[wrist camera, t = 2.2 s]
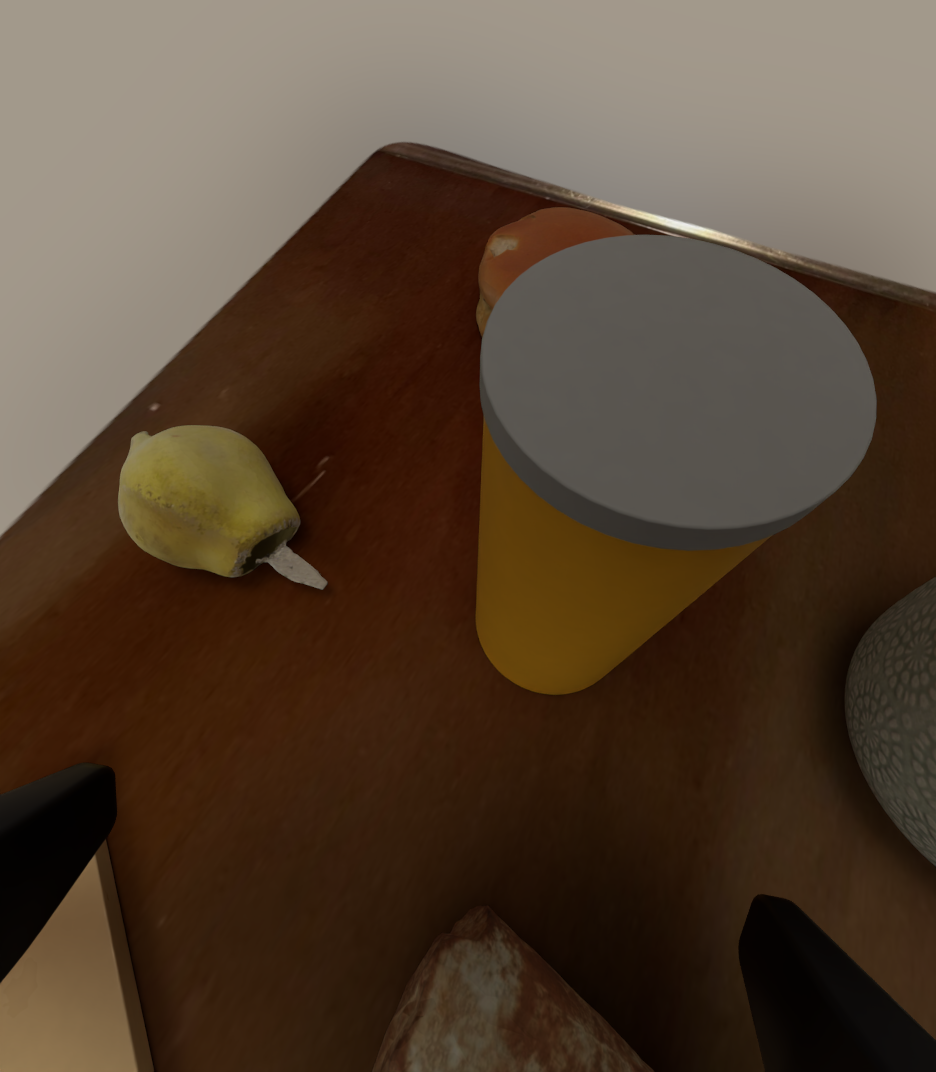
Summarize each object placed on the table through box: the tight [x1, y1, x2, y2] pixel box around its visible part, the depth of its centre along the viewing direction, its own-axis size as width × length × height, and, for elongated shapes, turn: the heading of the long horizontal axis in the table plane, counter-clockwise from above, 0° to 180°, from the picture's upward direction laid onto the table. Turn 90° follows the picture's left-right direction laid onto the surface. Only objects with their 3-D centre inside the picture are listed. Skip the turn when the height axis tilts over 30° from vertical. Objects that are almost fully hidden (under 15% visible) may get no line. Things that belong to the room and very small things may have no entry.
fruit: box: [118, 425, 328, 590], centre depth 22 cm, size 6×6×10 cm
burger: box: [476, 207, 634, 338], centre depth 28 cm, size 10×9×5 cm
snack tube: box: [476, 235, 876, 695], centre depth 16 cm, size 7×7×15 cm
